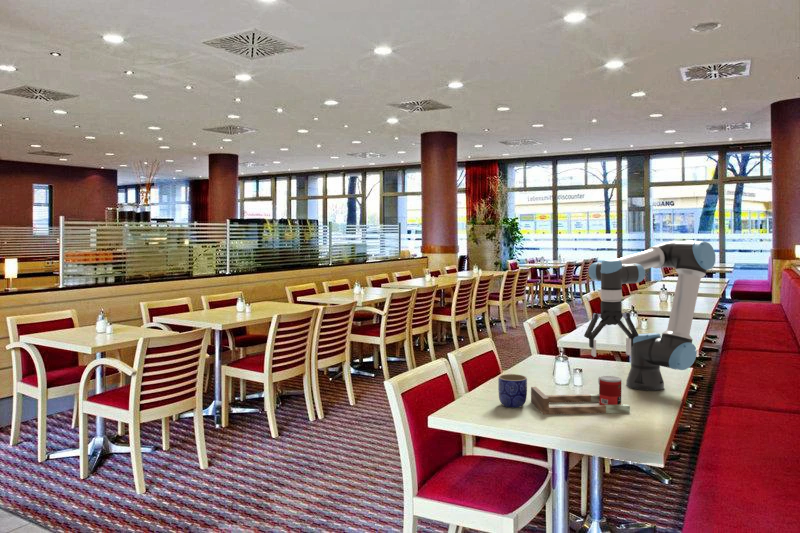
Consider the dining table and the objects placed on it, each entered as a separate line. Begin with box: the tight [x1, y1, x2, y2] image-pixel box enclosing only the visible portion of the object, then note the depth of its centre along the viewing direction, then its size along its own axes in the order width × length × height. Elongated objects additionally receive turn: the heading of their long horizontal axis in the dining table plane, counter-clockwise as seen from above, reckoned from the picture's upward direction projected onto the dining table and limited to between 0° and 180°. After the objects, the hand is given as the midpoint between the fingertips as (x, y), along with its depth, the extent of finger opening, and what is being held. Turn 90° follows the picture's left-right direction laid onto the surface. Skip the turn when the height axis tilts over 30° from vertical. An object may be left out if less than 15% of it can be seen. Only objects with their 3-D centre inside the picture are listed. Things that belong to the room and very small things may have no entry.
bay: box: [530, 386, 631, 416], centre depth 232 cm, size 32×17×6 cm, turn 93°
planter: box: [497, 373, 528, 409], centre depth 235 cm, size 11×11×11 cm
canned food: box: [598, 375, 623, 405], centre depth 233 cm, size 8×8×11 cm
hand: (611, 355), depth 232 cm, fingers open, 13 cm apart
